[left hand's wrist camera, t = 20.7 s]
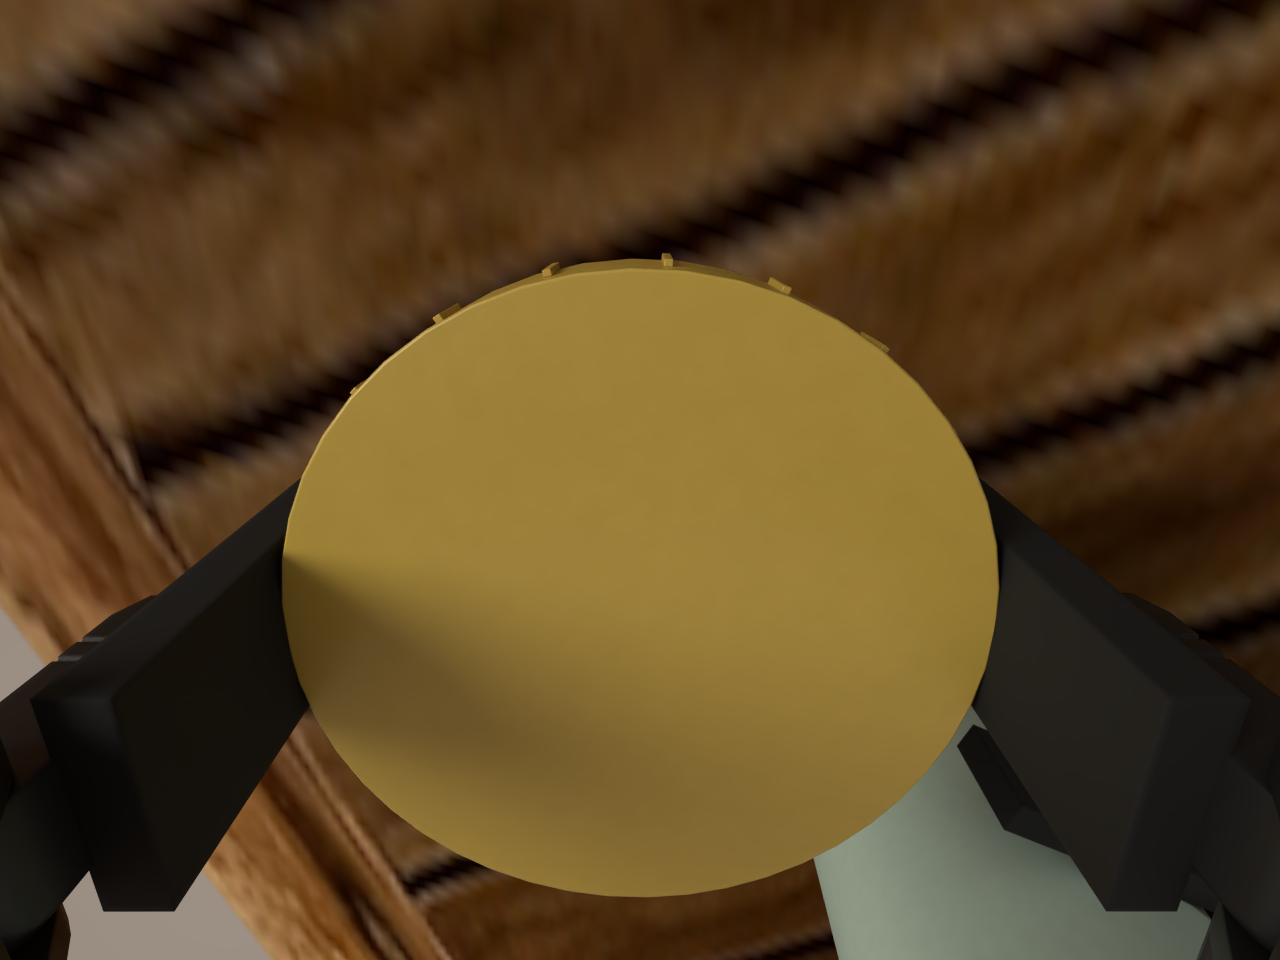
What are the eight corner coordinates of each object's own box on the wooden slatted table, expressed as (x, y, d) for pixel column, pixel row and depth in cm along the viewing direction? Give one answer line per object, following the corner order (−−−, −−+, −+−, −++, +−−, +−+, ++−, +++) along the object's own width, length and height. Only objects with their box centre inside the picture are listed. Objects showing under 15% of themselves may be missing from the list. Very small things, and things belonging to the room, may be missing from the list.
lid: (415, 856, 14) (388, 933, 12) (226, 316, 10) (158, 335, 9) (959, 790, 13) (998, 862, 12) (955, 196, 10) (1009, 195, 8)
